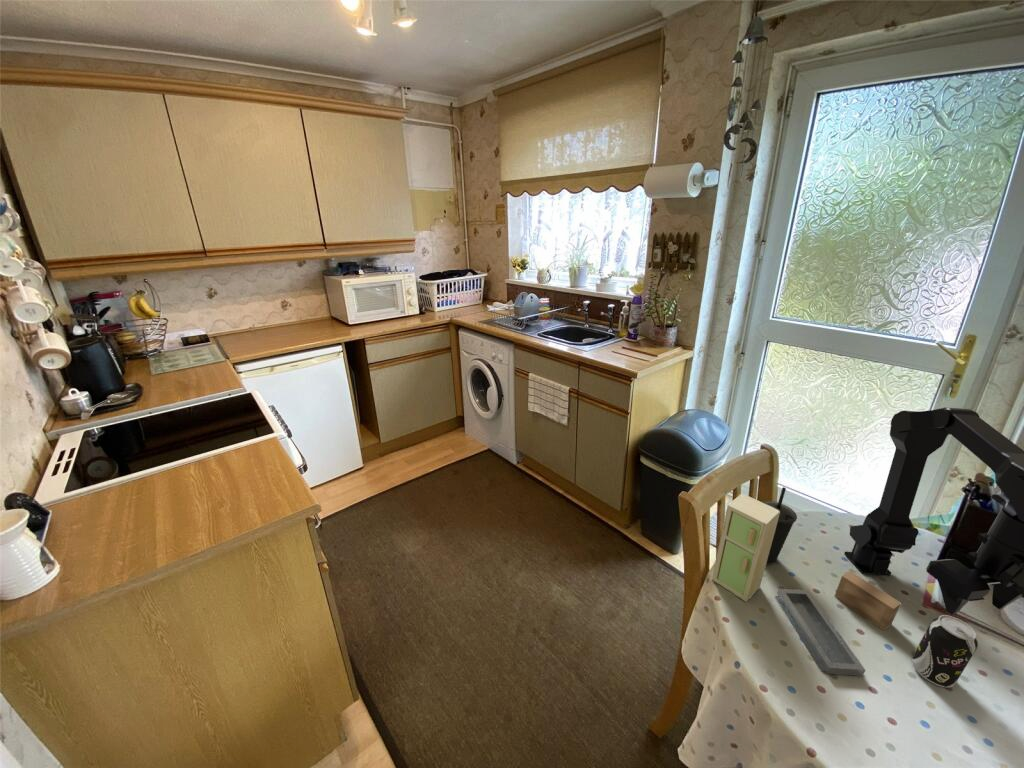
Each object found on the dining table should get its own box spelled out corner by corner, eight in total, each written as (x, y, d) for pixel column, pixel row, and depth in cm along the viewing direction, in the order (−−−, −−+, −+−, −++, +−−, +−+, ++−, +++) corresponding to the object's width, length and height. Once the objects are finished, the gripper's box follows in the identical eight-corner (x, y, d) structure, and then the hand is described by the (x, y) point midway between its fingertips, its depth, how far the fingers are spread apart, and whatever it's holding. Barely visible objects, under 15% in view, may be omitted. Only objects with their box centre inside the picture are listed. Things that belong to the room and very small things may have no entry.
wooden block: (834, 596, 89) (842, 575, 87) (842, 591, 91) (850, 570, 88) (883, 630, 82) (893, 609, 80) (891, 624, 83) (901, 602, 81)
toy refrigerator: (708, 580, 93) (725, 505, 86) (724, 565, 98) (742, 492, 90) (744, 604, 87) (766, 526, 80) (760, 587, 92) (782, 511, 84)
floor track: (773, 595, 90) (775, 588, 89) (808, 597, 89) (810, 590, 88) (823, 674, 74) (826, 667, 73) (865, 677, 73) (868, 670, 73)
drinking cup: (745, 560, 99) (764, 491, 92) (748, 540, 105) (765, 474, 98) (782, 573, 95) (805, 502, 88) (782, 552, 101) (803, 484, 94)
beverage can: (917, 682, 73) (943, 634, 68) (904, 653, 78) (927, 607, 73) (960, 696, 70) (990, 647, 66) (944, 665, 75) (970, 618, 71)
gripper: (1029, 589, 57) (980, 663, 63) (1141, 575, 59) (1083, 648, 65) (942, 531, 67) (907, 600, 73) (1040, 521, 69) (998, 589, 75)
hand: (973, 609), depth 71 cm, fingers open, 9 cm apart
